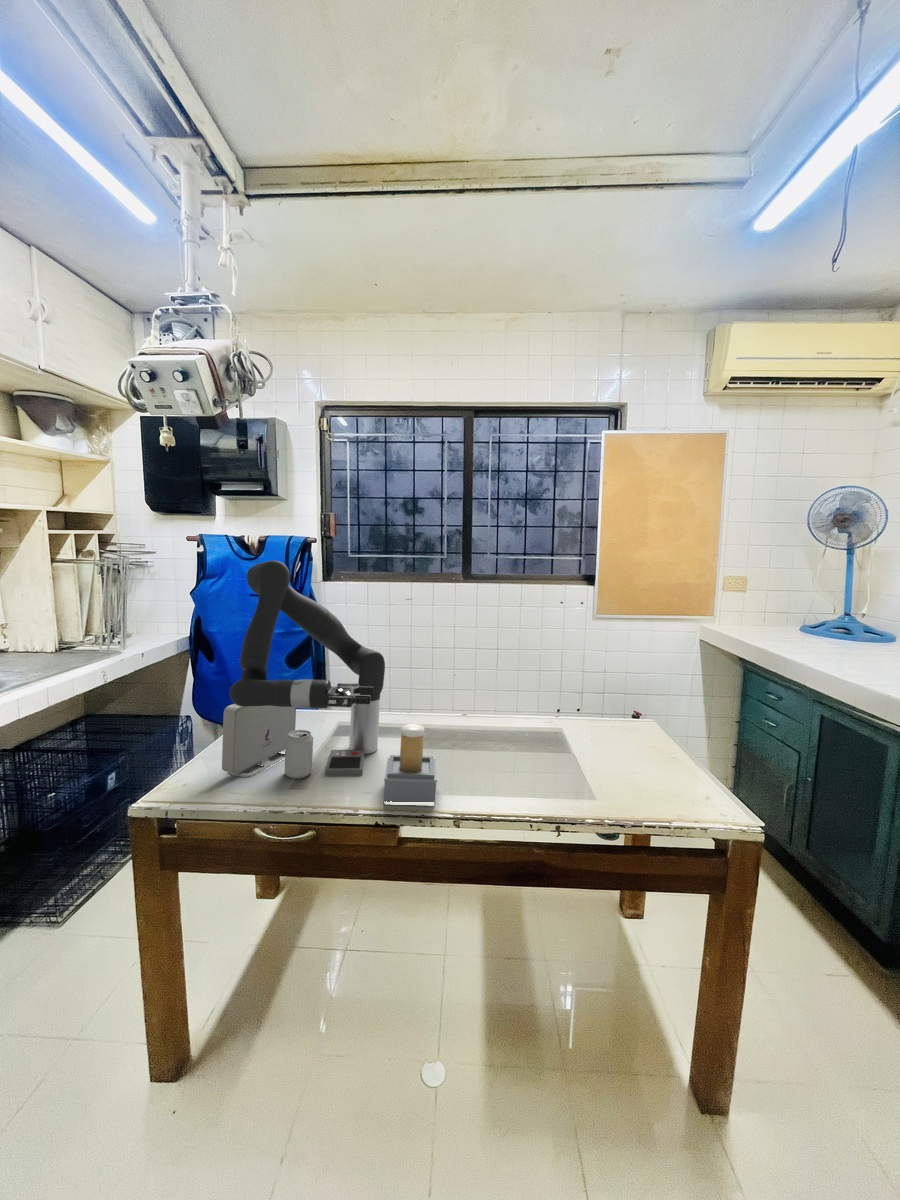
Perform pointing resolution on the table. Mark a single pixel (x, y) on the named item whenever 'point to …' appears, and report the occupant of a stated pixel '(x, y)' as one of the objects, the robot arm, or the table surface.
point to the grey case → (410, 781)
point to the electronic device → (345, 762)
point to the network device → (254, 736)
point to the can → (298, 754)
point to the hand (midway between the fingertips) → (372, 695)
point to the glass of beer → (411, 748)
